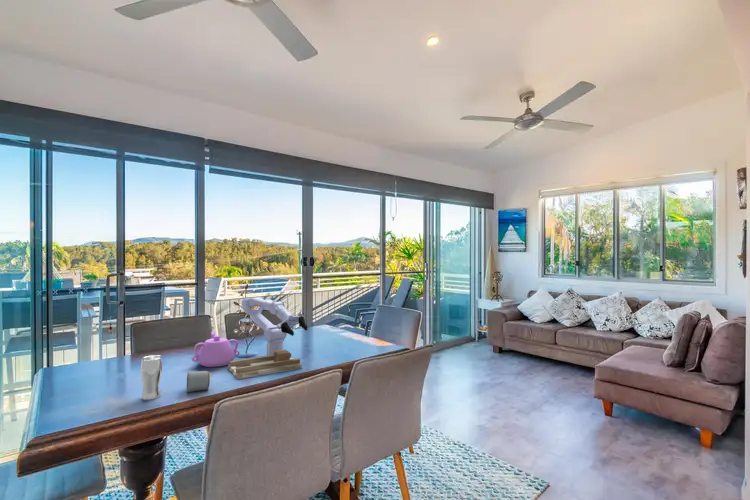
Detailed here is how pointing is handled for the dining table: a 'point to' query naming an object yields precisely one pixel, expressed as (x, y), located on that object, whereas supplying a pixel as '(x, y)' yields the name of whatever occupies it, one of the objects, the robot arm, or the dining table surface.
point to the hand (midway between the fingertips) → (300, 331)
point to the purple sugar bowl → (215, 351)
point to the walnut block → (281, 355)
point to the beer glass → (151, 376)
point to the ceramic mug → (198, 381)
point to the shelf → (261, 366)
